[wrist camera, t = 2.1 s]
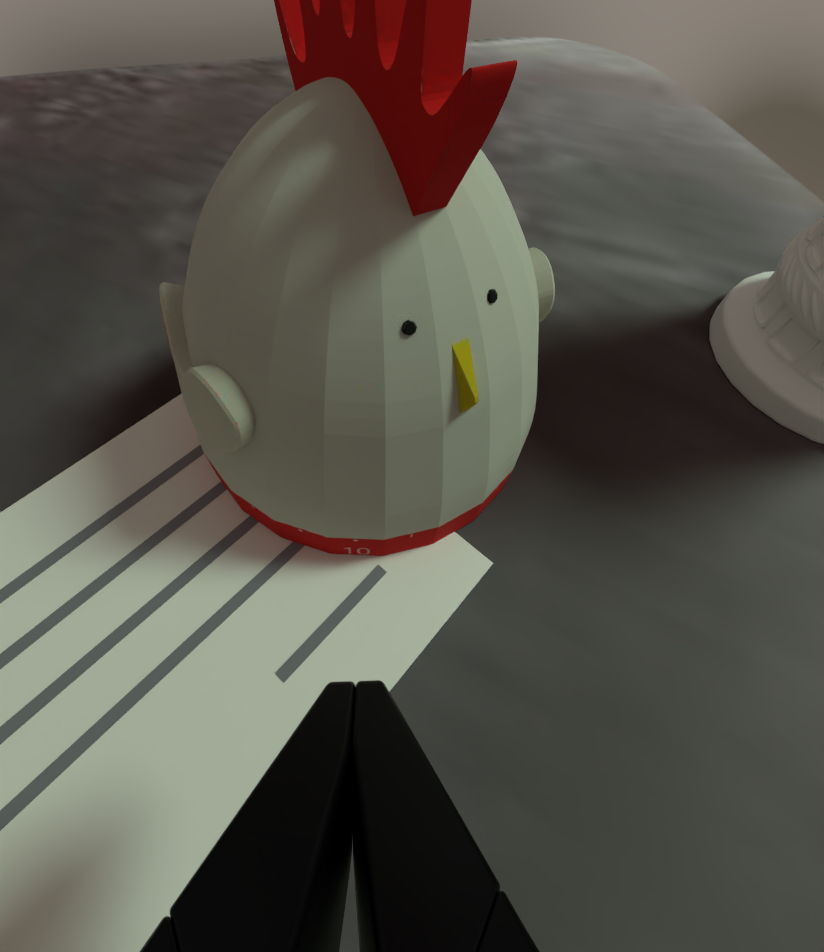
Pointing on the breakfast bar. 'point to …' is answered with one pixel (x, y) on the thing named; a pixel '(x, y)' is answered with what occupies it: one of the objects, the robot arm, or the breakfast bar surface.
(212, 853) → the robot arm
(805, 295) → the decorative container
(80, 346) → the breakfast bar surface
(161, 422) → the letter
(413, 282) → the kitchen timer
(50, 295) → the breakfast bar surface
